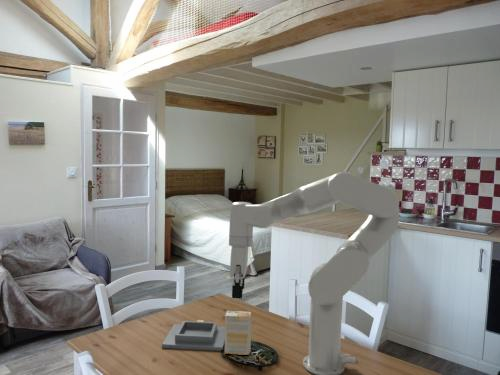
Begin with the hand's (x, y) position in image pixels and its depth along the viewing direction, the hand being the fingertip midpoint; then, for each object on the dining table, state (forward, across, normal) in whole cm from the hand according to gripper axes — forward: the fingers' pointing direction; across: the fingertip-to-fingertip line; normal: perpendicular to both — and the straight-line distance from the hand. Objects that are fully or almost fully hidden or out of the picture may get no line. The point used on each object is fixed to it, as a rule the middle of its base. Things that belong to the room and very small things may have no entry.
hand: (238, 293), depth 129 cm
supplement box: (+20, 0, +1) cm, 20 cm away
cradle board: (+20, -9, -14) cm, 26 cm away
